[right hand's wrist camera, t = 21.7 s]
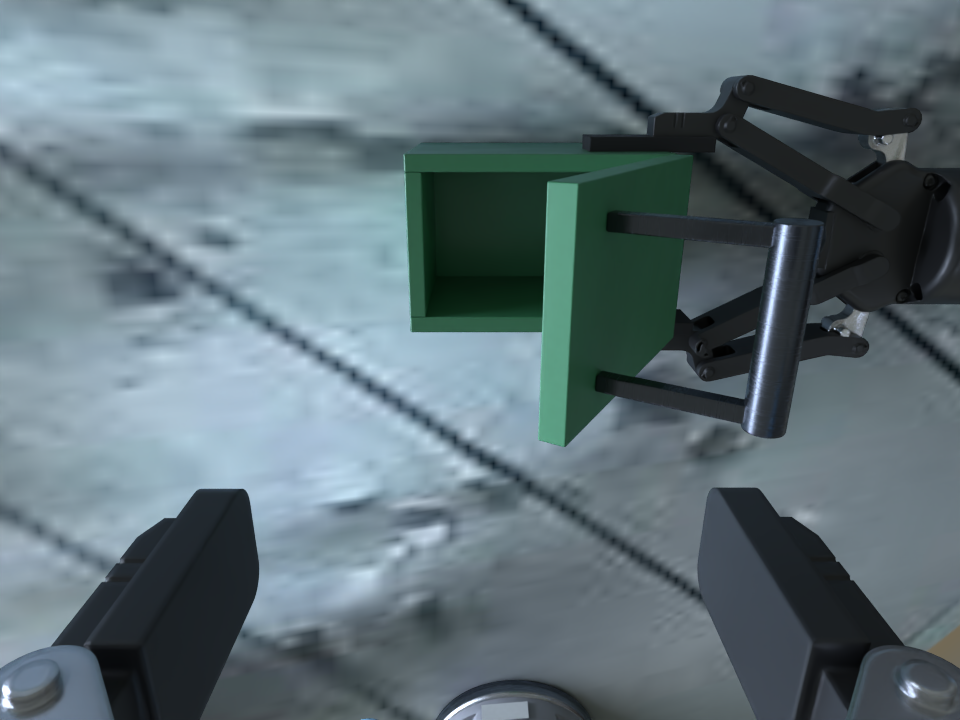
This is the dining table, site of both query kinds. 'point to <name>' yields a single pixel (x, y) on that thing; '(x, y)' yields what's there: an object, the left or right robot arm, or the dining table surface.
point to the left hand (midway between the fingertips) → (580, 237)
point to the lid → (656, 298)
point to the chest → (485, 230)
